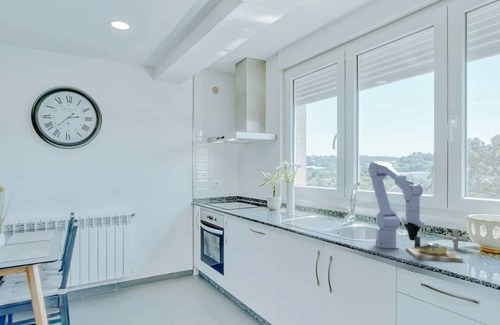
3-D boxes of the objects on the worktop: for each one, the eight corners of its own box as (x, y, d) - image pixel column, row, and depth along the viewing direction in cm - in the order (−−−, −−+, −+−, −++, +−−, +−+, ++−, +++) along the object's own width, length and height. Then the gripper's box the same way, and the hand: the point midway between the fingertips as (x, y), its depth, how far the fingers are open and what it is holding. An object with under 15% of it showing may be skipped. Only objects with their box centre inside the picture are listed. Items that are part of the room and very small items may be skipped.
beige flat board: (417, 259, 137) (417, 255, 137) (405, 250, 153) (405, 246, 153) (462, 262, 134) (462, 258, 134) (446, 252, 150) (446, 248, 150)
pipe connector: (445, 245, 163) (445, 226, 164) (468, 248, 157) (468, 228, 157) (442, 249, 156) (442, 229, 156) (466, 252, 149) (466, 231, 150)
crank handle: (430, 248, 151) (430, 232, 151) (452, 254, 140) (452, 237, 140) (405, 251, 145) (405, 234, 145) (426, 257, 135) (426, 239, 135)
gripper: (395, 208, 152) (396, 236, 151) (413, 212, 137) (413, 243, 137) (410, 208, 152) (410, 236, 152) (428, 212, 138) (428, 243, 137)
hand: (412, 240), depth 144 cm, fingers closed
